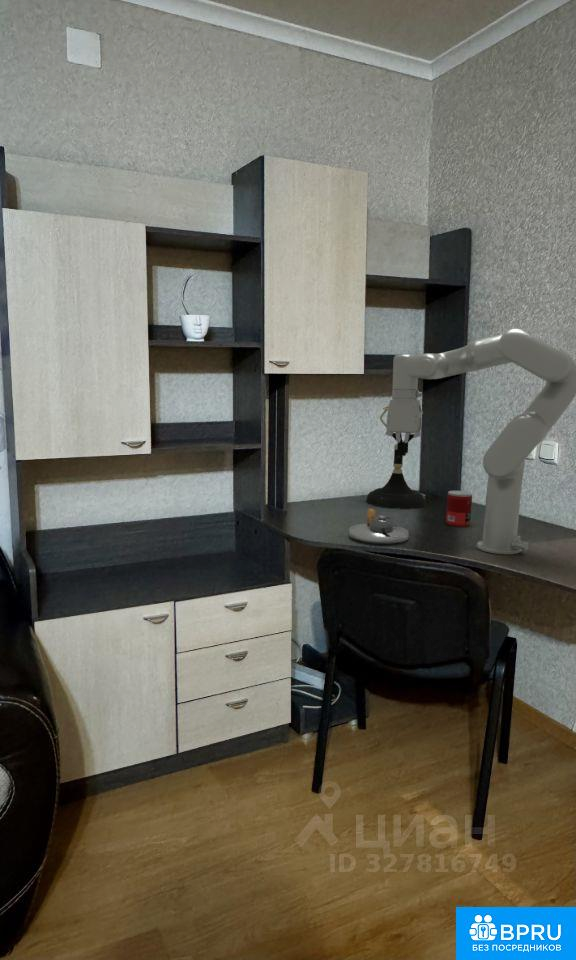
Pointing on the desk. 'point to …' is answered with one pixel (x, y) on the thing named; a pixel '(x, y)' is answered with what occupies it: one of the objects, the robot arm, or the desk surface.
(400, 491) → the banker's lamp
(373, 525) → the cover
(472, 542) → the desk surface
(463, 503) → the canned food
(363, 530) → the turntable
